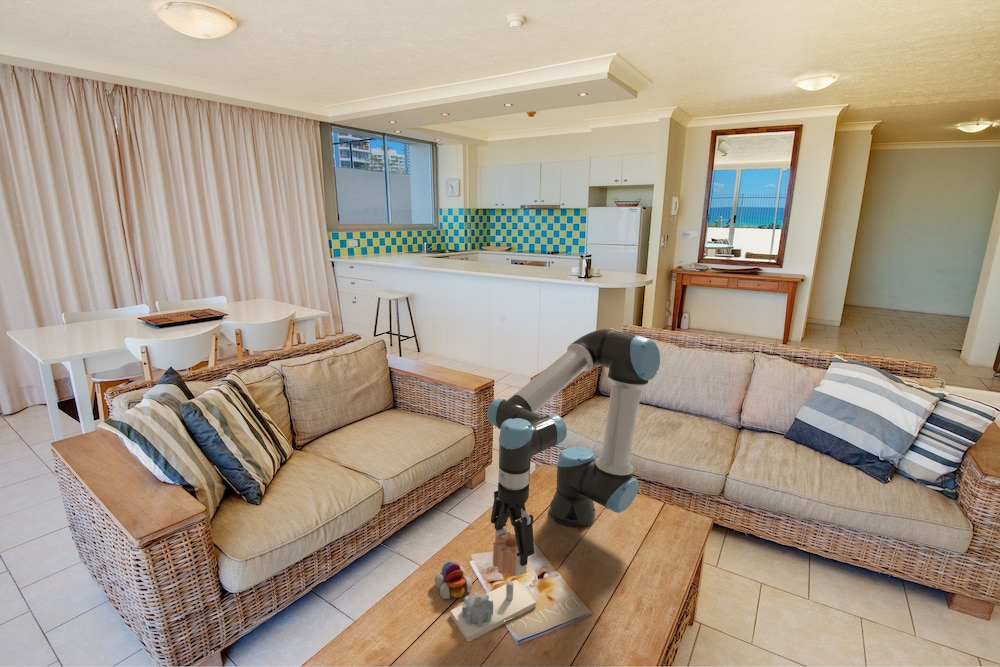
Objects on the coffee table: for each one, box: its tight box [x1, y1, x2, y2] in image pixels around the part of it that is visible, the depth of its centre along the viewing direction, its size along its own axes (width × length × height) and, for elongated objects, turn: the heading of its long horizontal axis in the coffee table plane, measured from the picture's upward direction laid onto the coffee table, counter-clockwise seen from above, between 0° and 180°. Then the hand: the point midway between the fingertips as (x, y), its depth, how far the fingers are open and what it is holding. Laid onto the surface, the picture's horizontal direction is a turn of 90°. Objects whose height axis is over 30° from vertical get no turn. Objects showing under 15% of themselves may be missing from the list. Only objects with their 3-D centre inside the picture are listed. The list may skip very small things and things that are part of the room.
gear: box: [492, 531, 518, 577], centre depth 119 cm, size 8×8×6 cm
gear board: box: [449, 579, 537, 643], centre depth 120 cm, size 9×20×6 cm, turn 123°
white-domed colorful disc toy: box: [433, 560, 473, 600], centre depth 127 cm, size 8×10×7 cm
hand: (510, 562), depth 120 cm, fingers closed on gear, 8 cm apart
